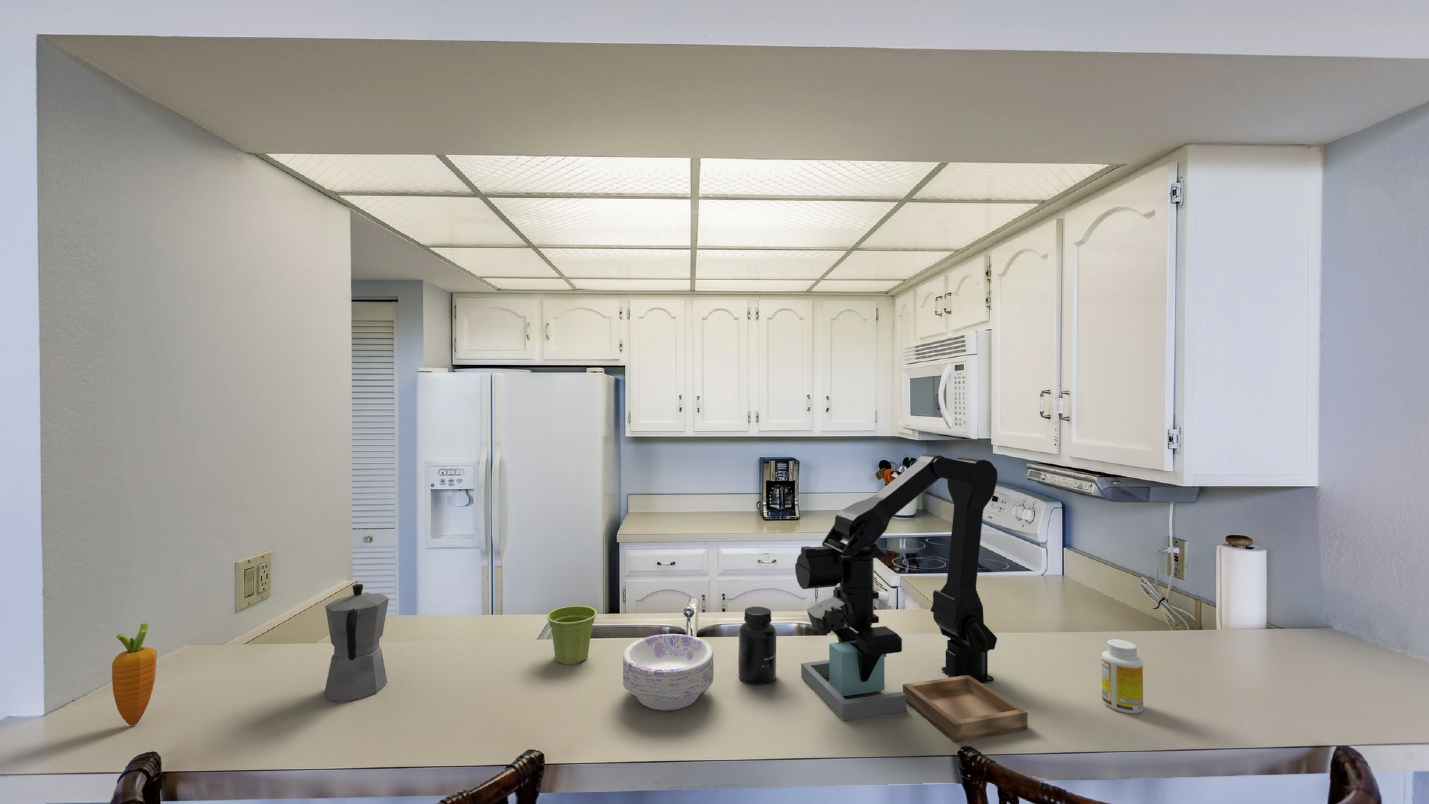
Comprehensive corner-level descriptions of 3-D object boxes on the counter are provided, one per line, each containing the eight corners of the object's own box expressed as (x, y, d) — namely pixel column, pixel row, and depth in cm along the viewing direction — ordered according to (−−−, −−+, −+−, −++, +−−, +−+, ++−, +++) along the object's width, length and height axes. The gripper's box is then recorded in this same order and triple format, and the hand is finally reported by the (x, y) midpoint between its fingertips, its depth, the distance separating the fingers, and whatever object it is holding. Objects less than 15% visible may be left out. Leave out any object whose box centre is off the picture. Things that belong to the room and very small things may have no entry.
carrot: (115, 738, 85) (117, 635, 86) (105, 728, 88) (107, 628, 88) (161, 723, 90) (162, 624, 90) (150, 713, 92) (151, 618, 92)
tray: (968, 690, 101) (968, 674, 101) (1027, 729, 89) (1027, 712, 89) (902, 700, 98) (902, 684, 98) (955, 742, 85) (955, 724, 85)
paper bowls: (622, 725, 90) (622, 672, 90) (622, 679, 105) (623, 635, 105) (720, 717, 92) (720, 666, 92) (707, 674, 107) (707, 630, 107)
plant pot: (597, 666, 110) (597, 620, 110) (545, 671, 108) (545, 624, 108) (595, 646, 119) (596, 604, 119) (547, 651, 117) (548, 607, 117)
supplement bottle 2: (1150, 710, 94) (1150, 647, 95) (1130, 718, 92) (1130, 653, 92) (1114, 695, 100) (1114, 635, 100) (1094, 702, 97) (1094, 640, 97)
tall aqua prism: (874, 677, 104) (874, 638, 104) (889, 689, 99) (888, 647, 100) (829, 684, 101) (829, 643, 101) (842, 696, 97) (841, 653, 97)
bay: (857, 669, 109) (857, 656, 109) (906, 710, 94) (906, 695, 94) (801, 677, 106) (801, 663, 106) (842, 720, 91) (842, 704, 91)
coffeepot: (330, 678, 105) (331, 577, 105) (390, 668, 109) (391, 571, 109) (314, 720, 91) (315, 603, 91) (383, 707, 95) (385, 595, 95)
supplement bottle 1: (774, 687, 102) (774, 618, 102) (735, 683, 103) (735, 615, 103) (777, 670, 109) (778, 605, 109) (741, 667, 110) (741, 603, 110)
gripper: (791, 572, 107) (791, 658, 107) (840, 605, 89) (840, 708, 89) (845, 568, 110) (846, 651, 110) (903, 599, 92) (904, 698, 92)
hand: (856, 675), depth 100 cm, fingers closed on tall aqua prism, 4 cm apart
